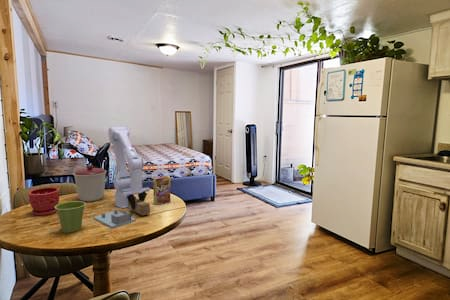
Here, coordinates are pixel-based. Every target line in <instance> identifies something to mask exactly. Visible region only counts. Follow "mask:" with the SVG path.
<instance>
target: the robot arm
mask: <svg viewBox="0 0 450 300" xmlns="http://www.w3.org/2000/svg"><path fill="white" fill-rule="evenodd" d="M107 134H108V139H109V143H110V144H112V146H113V150H114V155H115V162H116V166H117V167H116V168H117V174H115V176H114V177H113V186H114V187H113V188H114V189H115V193H114V194H115V195H114V199H115V203H114V204H113V205H114V206H115V207H118V208H121V209H125V208H128V200H129V202H130V205H131V209H135V198H136V196H135V195H137V196H138V199H139V200H141V201H144V202H145V200H146V197H147V195H148V193H149V192H151V191H150V187H148V186H147V187H143V171H142V170H143V169H144V167H145V166H144V165H145V162H144V160H143V158H142V157H140V156H139V154H138V153H137V150H136V148H135V147H134V146H132V144H131V141H130V134H131V133H130V129H129V127H128V126H110V127H109V128H108V133H107ZM136 199H137V198H136Z"/></svg>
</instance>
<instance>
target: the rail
mask: <svg viewBox="0 0 450 300" xmlns="http://www.w3.org/2000/svg"><path fill="white" fill-rule="evenodd" d="M150 205H151V204H150V203H149V202H146V201H145V200H144V201H141V200H139V198H135V209H131V205H130V202H129V200H128V207H127V209H128V210H131V211H132V212H135V213H137V214H139V215H141V216H145V215H149V214H150V213H151V211H150V210H151V209H150V208H151V207H150Z"/></svg>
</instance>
